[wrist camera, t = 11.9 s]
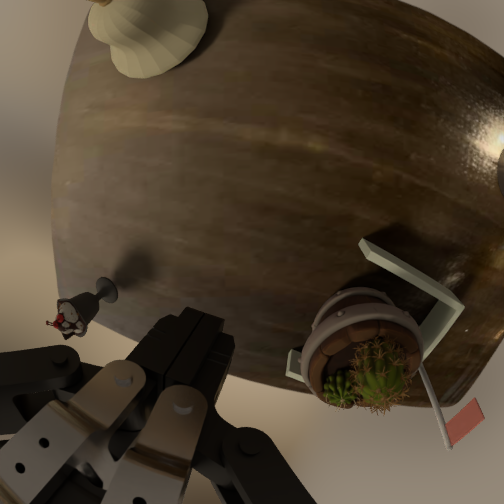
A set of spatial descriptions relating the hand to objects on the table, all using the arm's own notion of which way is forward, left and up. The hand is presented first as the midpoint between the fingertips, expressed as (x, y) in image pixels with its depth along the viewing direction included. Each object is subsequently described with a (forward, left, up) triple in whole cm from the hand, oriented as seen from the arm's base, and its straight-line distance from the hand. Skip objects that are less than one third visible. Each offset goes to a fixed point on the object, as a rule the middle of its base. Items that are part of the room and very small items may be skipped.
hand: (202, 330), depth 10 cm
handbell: (+21, -21, -25) cm, 39 cm away
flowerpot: (-15, +11, -25) cm, 31 cm away
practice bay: (-18, +12, -25) cm, 33 cm away
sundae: (+24, +21, -25) cm, 41 cm away
